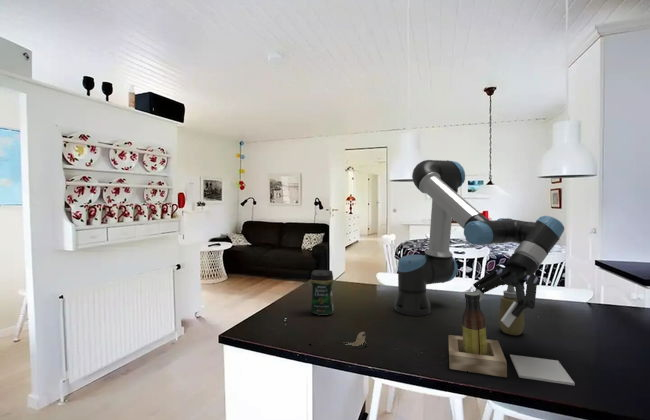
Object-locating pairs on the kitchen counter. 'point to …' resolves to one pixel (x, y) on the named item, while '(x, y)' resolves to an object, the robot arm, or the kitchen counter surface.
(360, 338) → the jawbone
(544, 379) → the grey mat
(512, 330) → the squeeze bottle
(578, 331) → the kitchen counter surface
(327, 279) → the coffee jar
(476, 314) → the sauce bottle
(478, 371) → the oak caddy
